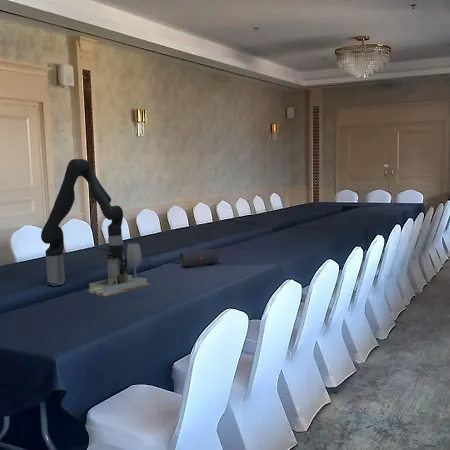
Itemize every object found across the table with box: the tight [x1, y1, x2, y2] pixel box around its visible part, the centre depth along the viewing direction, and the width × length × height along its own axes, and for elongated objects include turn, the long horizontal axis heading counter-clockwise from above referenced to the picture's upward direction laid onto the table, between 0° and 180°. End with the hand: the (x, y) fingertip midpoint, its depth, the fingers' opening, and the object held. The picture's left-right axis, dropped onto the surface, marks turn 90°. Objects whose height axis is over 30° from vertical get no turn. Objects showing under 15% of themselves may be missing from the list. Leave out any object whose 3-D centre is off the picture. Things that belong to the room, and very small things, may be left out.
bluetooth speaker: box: [179, 248, 219, 268], centre depth 349 cm, size 23×9×10 cm, turn 114°
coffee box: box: [106, 254, 129, 286], centre depth 295 cm, size 9×6×16 cm
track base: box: [87, 274, 150, 298], centre depth 296 cm, size 16×28×4 cm, turn 134°
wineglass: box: [126, 242, 143, 280], centre depth 314 cm, size 9×9×21 cm
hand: (117, 273), depth 295 cm, fingers open, 8 cm apart
